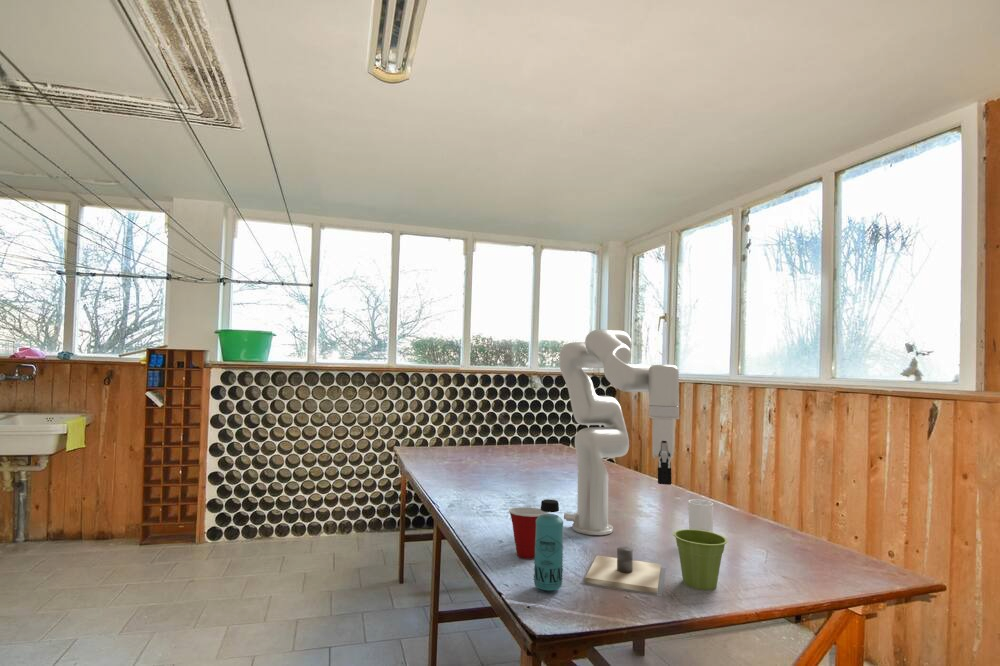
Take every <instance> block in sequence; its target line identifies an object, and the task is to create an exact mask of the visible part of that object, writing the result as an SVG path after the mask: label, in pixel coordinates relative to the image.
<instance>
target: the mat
mask: <svg viewBox="0 0 1000 666" xmlns="http://www.w3.org/2000/svg"><path fill="white" fill-rule="evenodd" d="M595 558H596V557H595ZM595 558H594V557H593V559H592V560H591V563H590V564H589V566H588V569H586V572H585V574H584V576H583V577H582V580H581V582H580V585H585V586H591V587H598V588H604V589H609V590H610V589H611V590H616V591H617V590H618V591H624V592H630V593H636V594H642V595H643V594H644V595H650V596H656V597H662V598H663V591H664V586H665V585H664V584H665V577H666V567H661V574H660V581H659V587H658V594H655V593H648V592H642V591H635V590H629V589H623V588H616V587H610V586H603V585H597V584H590V583H585V577H586V575H587V573H588V572H589V570H590V568H591V566H592V564H593V562H594V560H595Z"/></svg>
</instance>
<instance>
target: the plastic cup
mask: <svg viewBox="0 0 1000 666" xmlns="http://www.w3.org/2000/svg"><path fill="white" fill-rule="evenodd" d="M508 512H509V514H510V519H511V523H512V531H513V538H514V543H515V550H516V555H517V557H519V558H521V559H525V560H533V559H534V557H535V556H534V555H535V550H534V549H535V536H536V519H537V518H538V517H539V516H540V515H542V514H550V512H544V511H541V508H538V507H537V508H536V507H527V506H523V507H521V506H520V507H512V508H509V509H508ZM534 560H535V559H534Z"/></svg>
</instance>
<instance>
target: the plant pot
mask: <svg viewBox="0 0 1000 666" xmlns="http://www.w3.org/2000/svg"><path fill="white" fill-rule="evenodd" d="M672 535H673V536H674V537H675V540H676V546H677V548H678V555H679V562H680V569H681V576H682V582H683V584H684V585H685V586H687V587H689V588H691V589H695V590H701V591H712V590H715V589H716V588H717V586H718V580H719V574H720V568H721V564H722V558H723V557H722V556H723V553H724V551H725V545H726V544H727V543H728V539H727V538H726V537H725V536H723V535H721V534H718V533H717V532H714V531H713V532H708V531H703V530H694V529H689V528H688V529H687V528H686V529H685V528H684V529H677V530H675V531H674V532H673V534H672Z"/></svg>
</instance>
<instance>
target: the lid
mask: <svg viewBox="0 0 1000 666" xmlns="http://www.w3.org/2000/svg"><path fill="white" fill-rule="evenodd" d="M633 550H634V549H633V548H631V547H628V546H619V547H617V548H616V557H612V556H606V555H605V556H604V555H596V557H595V560H594V562H593V564H592V566H591V568H590V570H589V572H588V573H587V575H586V577H585V583H590V584H597V585H603V586H610V587H616V588H623V589H629V590H635V591H642V592H648V593H655V594H658V587H659V581H660V574H661V568H662V563H657V562H656V563H655V562H651V561H650V562H649V561H648V562H647V561H641V560H633V558H634V557H633Z"/></svg>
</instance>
